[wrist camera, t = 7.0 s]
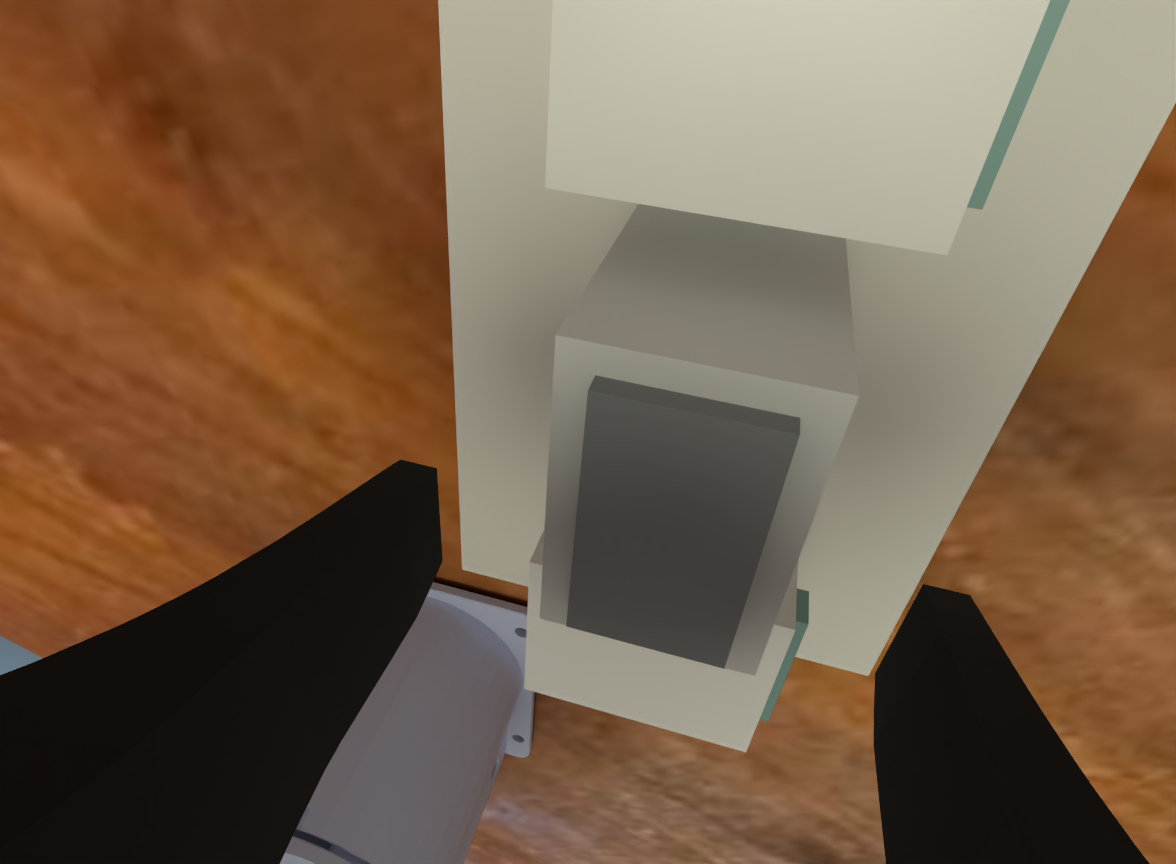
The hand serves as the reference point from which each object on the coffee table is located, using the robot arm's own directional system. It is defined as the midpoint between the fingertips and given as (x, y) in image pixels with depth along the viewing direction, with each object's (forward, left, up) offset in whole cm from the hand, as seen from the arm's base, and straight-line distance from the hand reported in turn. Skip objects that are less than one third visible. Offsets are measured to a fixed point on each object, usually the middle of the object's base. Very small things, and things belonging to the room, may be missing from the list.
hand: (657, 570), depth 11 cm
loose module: (0, 0, -7) cm, 7 cm away
